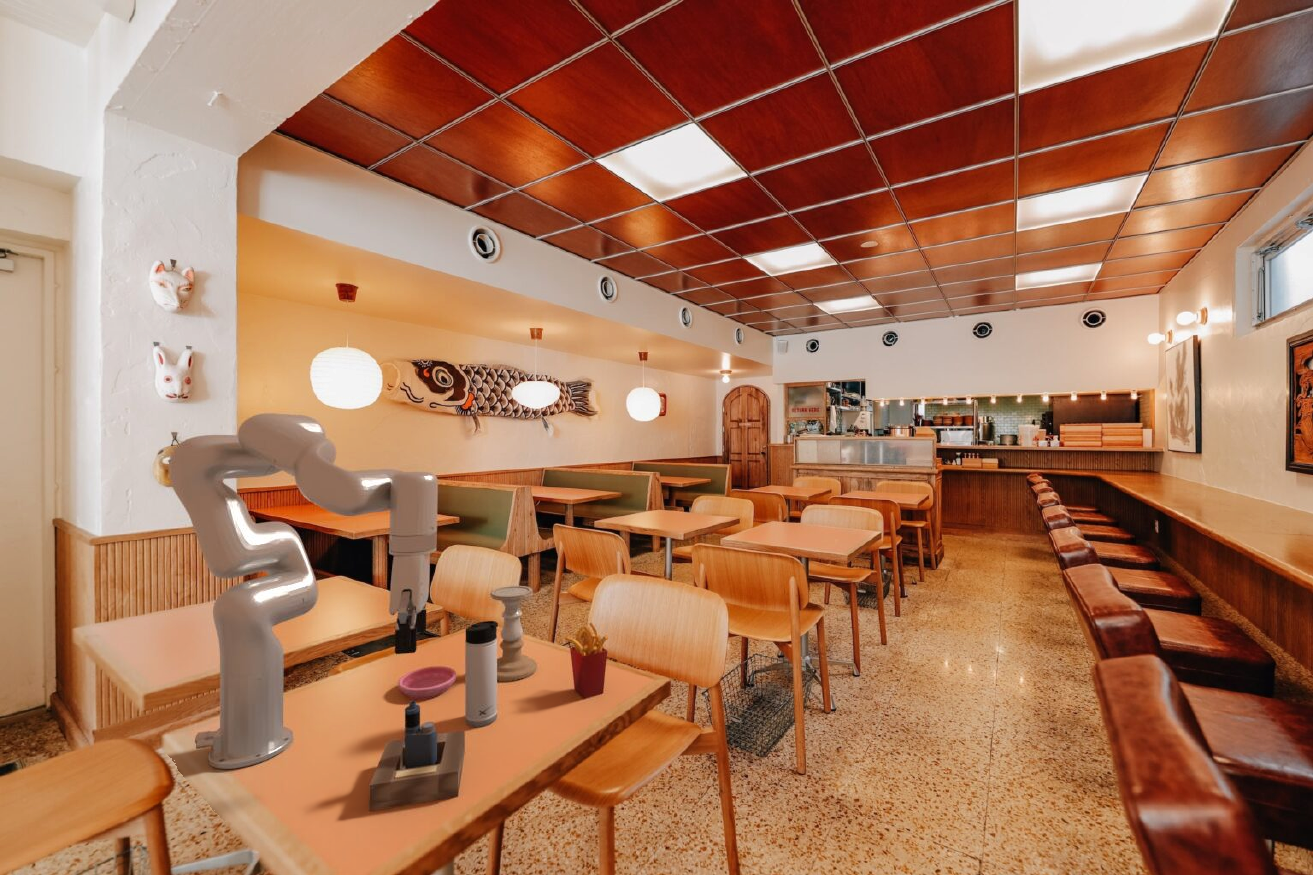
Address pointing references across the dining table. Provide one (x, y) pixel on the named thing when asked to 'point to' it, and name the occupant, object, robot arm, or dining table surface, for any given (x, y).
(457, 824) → the dining table surface
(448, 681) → the saucer
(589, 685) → the french fries
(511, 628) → the candle holder
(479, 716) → the travel mug
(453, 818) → the dining table surface
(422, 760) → the vaping device
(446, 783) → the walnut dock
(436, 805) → the dining table surface
